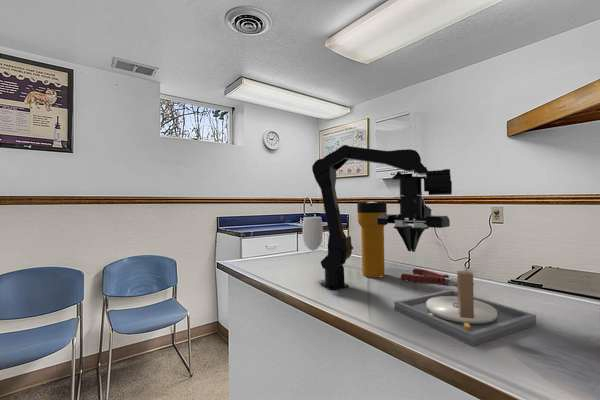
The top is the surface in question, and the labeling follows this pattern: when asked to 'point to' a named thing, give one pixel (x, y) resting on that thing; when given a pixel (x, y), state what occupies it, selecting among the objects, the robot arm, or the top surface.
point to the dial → (462, 304)
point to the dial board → (466, 332)
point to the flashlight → (372, 237)
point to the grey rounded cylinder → (312, 232)
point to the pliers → (429, 278)
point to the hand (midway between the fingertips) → (411, 251)
